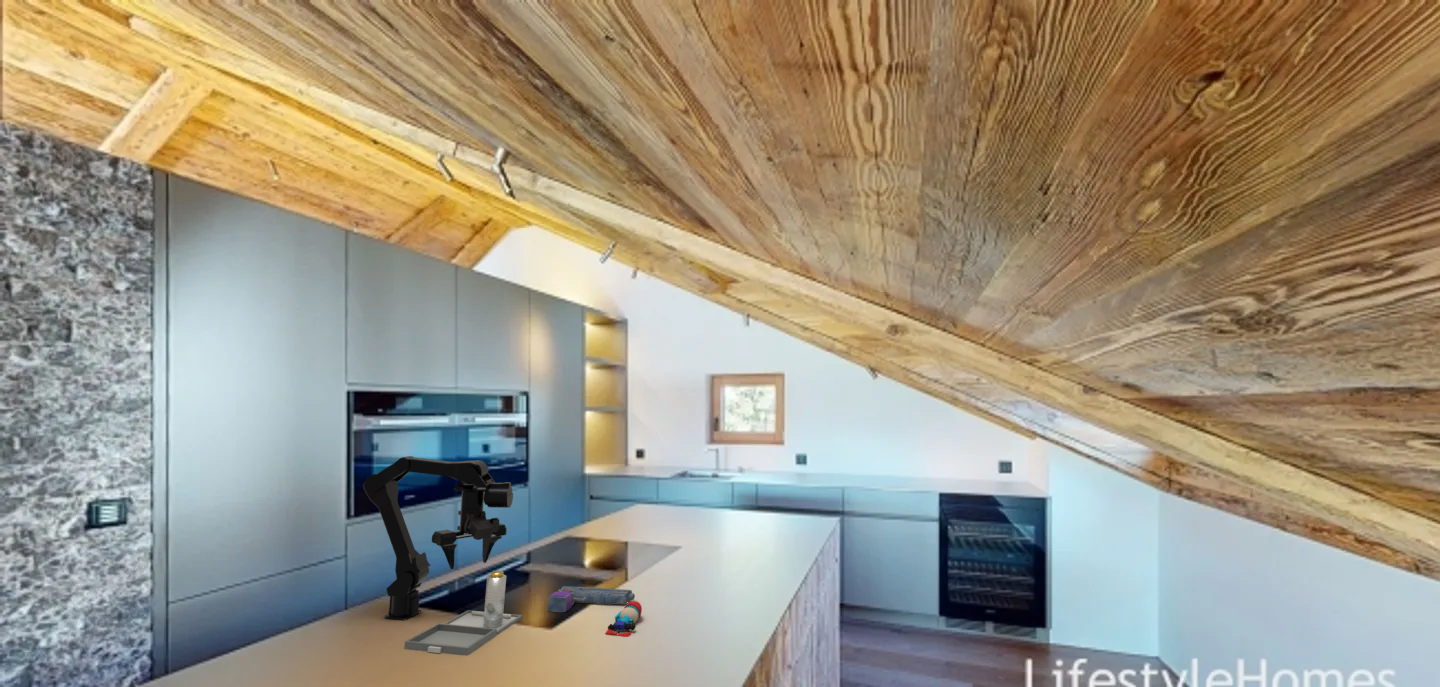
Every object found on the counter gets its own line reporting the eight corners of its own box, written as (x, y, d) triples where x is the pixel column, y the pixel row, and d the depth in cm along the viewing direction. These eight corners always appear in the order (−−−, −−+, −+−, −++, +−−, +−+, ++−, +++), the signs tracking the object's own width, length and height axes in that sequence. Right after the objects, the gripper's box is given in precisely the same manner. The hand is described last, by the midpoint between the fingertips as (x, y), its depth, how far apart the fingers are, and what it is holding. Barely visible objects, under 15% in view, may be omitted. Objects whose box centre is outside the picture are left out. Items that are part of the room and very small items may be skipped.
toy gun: (622, 599, 163) (637, 586, 178) (541, 594, 166) (562, 581, 181) (622, 617, 162) (636, 602, 177) (540, 611, 165) (561, 597, 180)
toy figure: (631, 644, 148) (650, 613, 163) (629, 625, 148) (648, 596, 163) (602, 643, 150) (624, 613, 165) (600, 624, 150) (622, 596, 164)
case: (401, 654, 136) (402, 642, 136) (437, 633, 148) (438, 623, 148) (465, 661, 133) (466, 649, 133) (496, 639, 145) (497, 628, 145)
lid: (437, 633, 148) (437, 624, 148) (467, 616, 160) (468, 607, 160) (495, 639, 145) (496, 630, 145) (522, 621, 157) (522, 612, 158)
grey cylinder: (479, 627, 149) (483, 574, 150) (489, 621, 154) (493, 569, 155) (496, 629, 148) (500, 575, 150) (505, 623, 153) (510, 570, 154)
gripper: (452, 515, 152) (448, 578, 150) (518, 507, 166) (515, 564, 164) (432, 509, 159) (428, 570, 157) (497, 502, 173) (494, 557, 171)
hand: (468, 565), depth 162 cm, fingers open, 9 cm apart
